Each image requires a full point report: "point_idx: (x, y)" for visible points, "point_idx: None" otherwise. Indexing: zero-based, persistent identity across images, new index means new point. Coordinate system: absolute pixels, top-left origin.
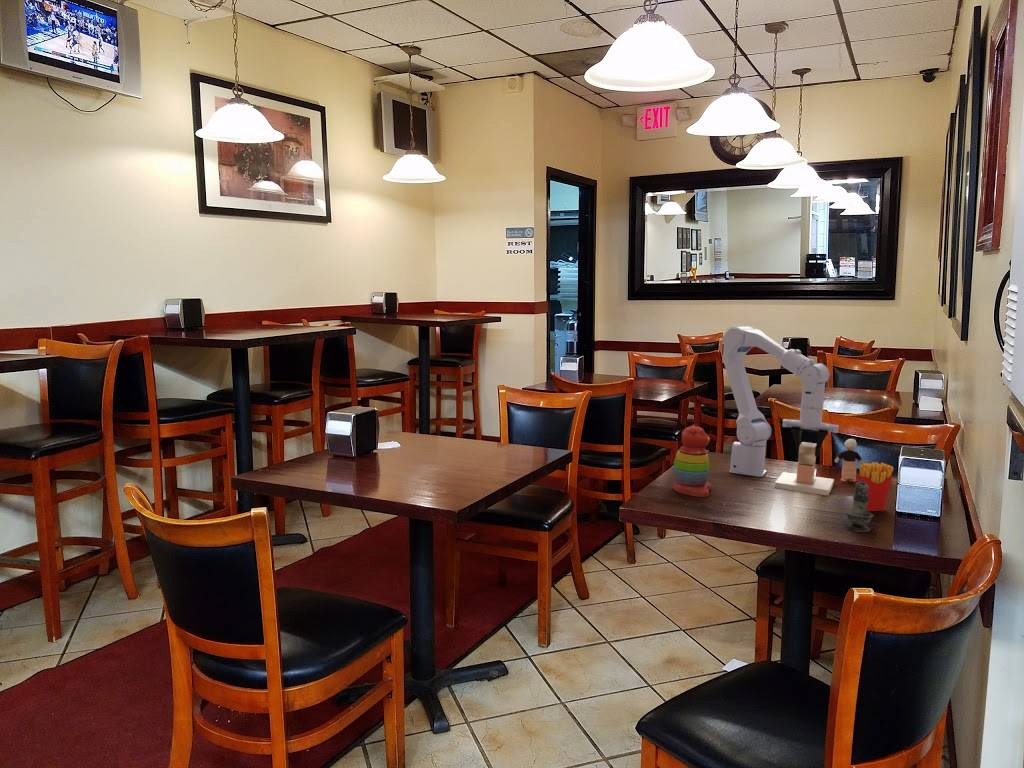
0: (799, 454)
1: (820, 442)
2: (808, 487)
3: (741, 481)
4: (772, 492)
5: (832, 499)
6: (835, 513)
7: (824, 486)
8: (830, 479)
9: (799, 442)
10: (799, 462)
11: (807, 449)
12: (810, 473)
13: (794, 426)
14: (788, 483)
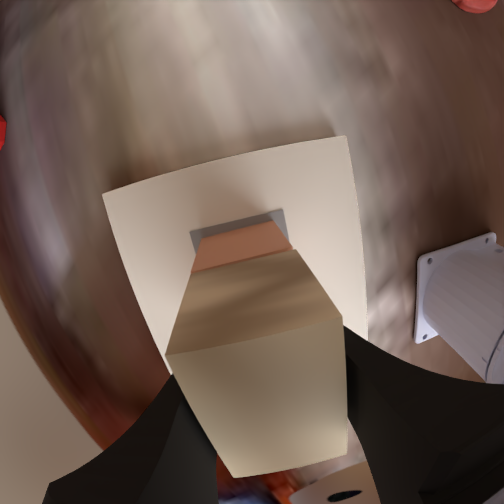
0: (305, 275)
1: (128, 439)
2: (189, 167)
3: (449, 144)
4: (311, 54)
5: (83, 150)
6: (47, 8)
7: (142, 247)
8: None
9: (363, 395)
10: (285, 254)
11: (242, 323)
12: (205, 251)
13: (495, 493)
14: (291, 160)
